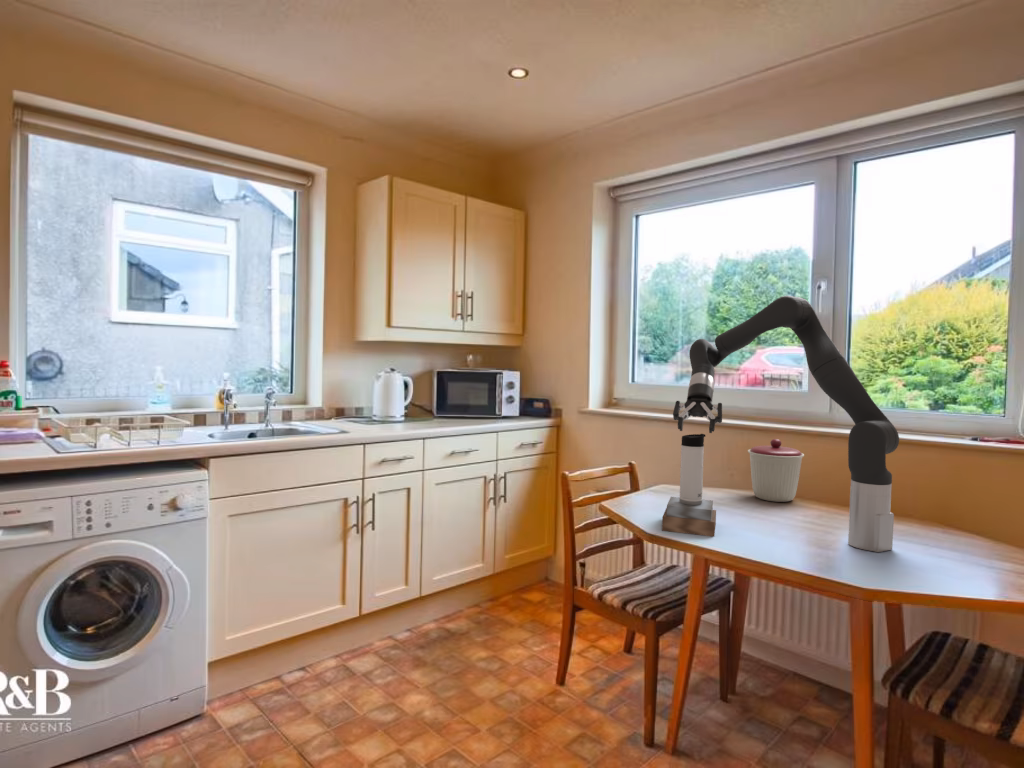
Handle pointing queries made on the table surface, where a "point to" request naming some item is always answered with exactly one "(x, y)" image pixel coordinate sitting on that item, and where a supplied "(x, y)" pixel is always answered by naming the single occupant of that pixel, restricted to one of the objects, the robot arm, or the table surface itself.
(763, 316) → the robot arm
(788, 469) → the canister
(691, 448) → the travel mug
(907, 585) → the table surface
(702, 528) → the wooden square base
